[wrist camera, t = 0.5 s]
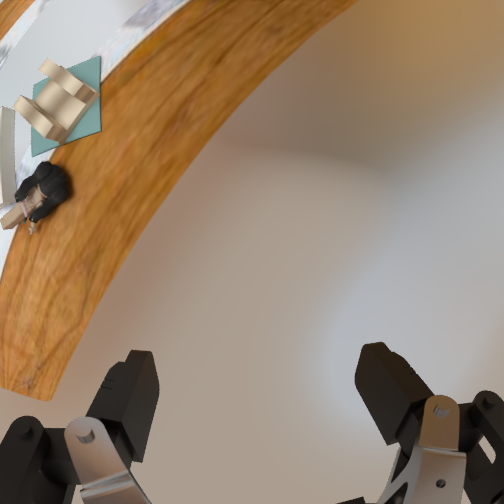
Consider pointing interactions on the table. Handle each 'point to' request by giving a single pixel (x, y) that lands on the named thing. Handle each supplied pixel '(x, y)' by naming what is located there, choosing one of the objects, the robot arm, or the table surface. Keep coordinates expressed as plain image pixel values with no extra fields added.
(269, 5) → the table surface
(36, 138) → the mat
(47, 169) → the toy figure
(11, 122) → the cream flat block
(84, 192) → the table surface
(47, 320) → the table surface
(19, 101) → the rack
